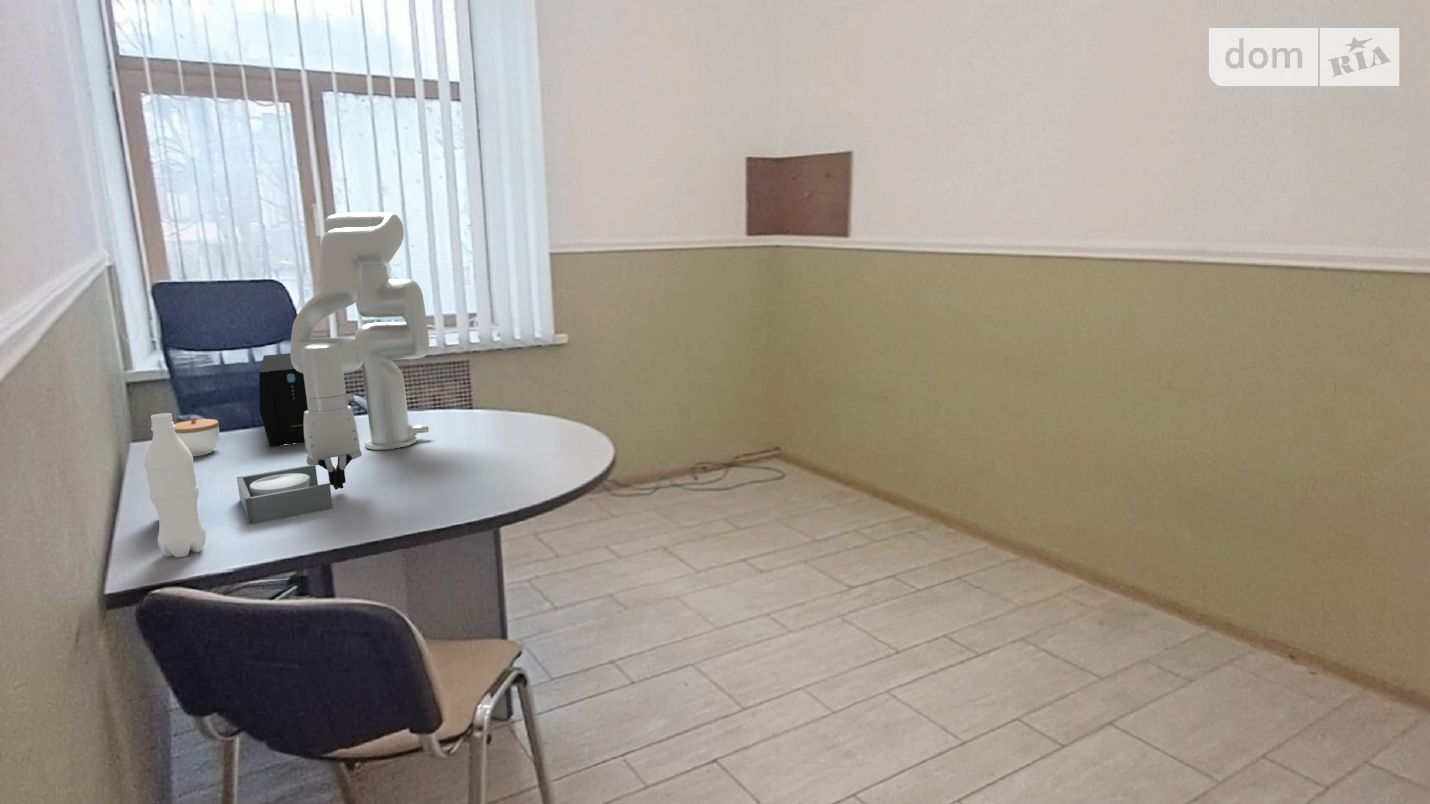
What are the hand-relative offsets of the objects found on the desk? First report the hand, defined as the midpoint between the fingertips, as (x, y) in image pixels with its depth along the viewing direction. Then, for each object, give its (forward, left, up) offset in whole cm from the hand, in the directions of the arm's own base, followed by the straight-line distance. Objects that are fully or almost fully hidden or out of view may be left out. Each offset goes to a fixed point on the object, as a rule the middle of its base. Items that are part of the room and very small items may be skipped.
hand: (338, 487), depth 179 cm
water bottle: (+29, +18, -2) cm, 34 cm away
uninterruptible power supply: (-2, -69, -2) cm, 69 cm away
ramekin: (+11, 0, -2) cm, 11 cm away
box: (+10, 0, -2) cm, 10 cm away
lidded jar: (+23, -59, -2) cm, 63 cm away
